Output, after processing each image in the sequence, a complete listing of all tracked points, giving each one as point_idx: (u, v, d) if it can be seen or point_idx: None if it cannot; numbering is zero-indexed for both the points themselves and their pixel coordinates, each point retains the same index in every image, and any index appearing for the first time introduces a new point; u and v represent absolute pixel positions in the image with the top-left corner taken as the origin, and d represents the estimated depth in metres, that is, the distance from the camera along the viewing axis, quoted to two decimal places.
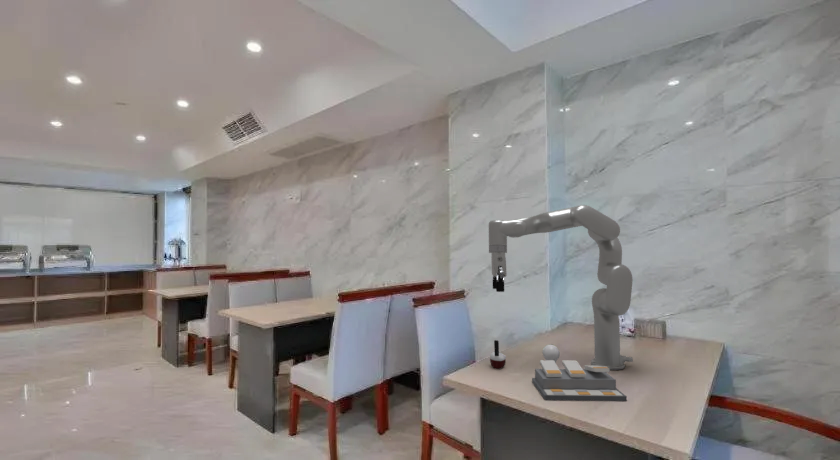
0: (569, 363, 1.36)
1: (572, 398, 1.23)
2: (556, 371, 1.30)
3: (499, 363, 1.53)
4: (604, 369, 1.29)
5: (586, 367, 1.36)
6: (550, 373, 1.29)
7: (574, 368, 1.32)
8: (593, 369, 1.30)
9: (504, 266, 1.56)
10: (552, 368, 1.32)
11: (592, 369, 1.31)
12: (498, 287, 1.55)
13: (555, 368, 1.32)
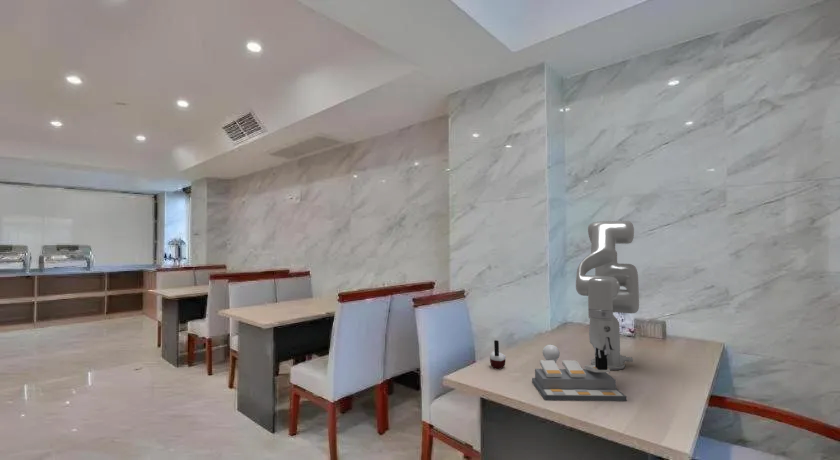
0: (569, 363, 1.36)
1: (572, 398, 1.23)
2: (556, 371, 1.30)
3: (499, 363, 1.53)
4: None
5: (586, 367, 1.36)
6: (550, 373, 1.29)
7: (574, 368, 1.32)
8: (593, 369, 1.30)
9: (613, 338, 1.25)
10: (552, 368, 1.32)
11: (592, 369, 1.31)
12: (600, 364, 1.28)
13: (555, 368, 1.32)
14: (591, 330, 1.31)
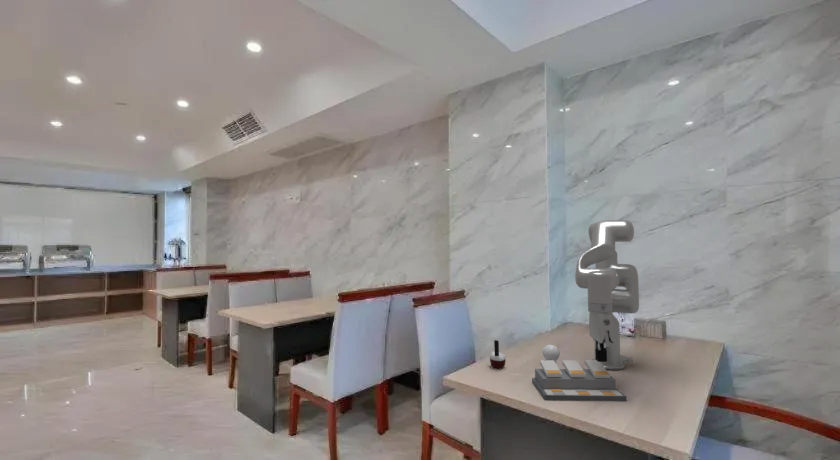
0: (569, 363, 1.36)
1: (572, 398, 1.23)
2: (556, 371, 1.30)
3: (499, 363, 1.53)
4: (605, 376, 1.28)
5: (586, 364, 1.35)
6: (550, 373, 1.29)
7: (574, 368, 1.32)
8: (593, 374, 1.29)
9: (612, 331, 1.25)
10: (552, 368, 1.32)
11: (592, 373, 1.30)
12: (600, 356, 1.29)
13: (555, 368, 1.32)
14: (591, 323, 1.32)
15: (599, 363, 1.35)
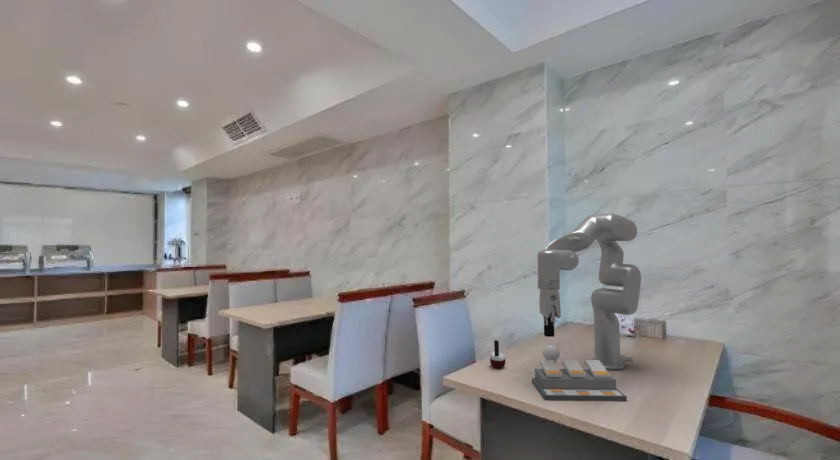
0: (569, 363, 1.36)
1: (572, 398, 1.23)
2: (556, 371, 1.30)
3: (499, 363, 1.53)
4: (605, 376, 1.28)
5: (586, 364, 1.35)
6: (550, 373, 1.29)
7: (574, 368, 1.32)
8: (593, 374, 1.29)
9: (558, 306, 1.32)
10: (552, 368, 1.32)
11: (592, 373, 1.30)
12: (547, 331, 1.36)
13: (555, 368, 1.32)
14: (540, 300, 1.39)
15: (599, 363, 1.35)
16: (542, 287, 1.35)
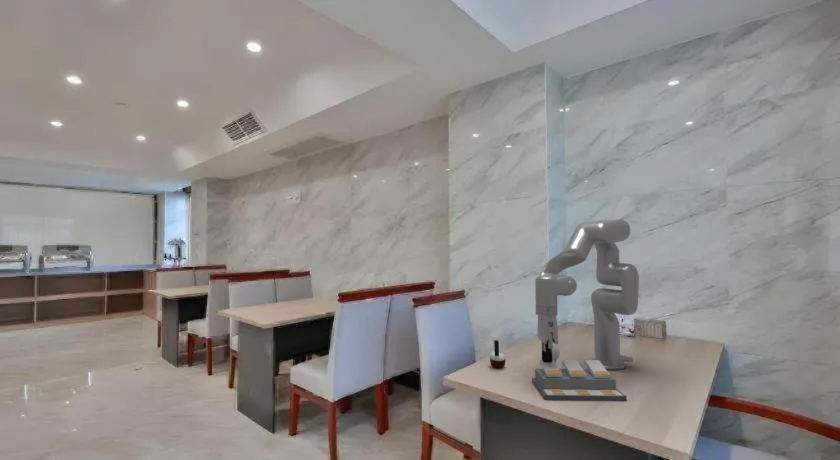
0: (569, 363, 1.36)
1: (572, 398, 1.23)
2: (556, 371, 1.30)
3: (499, 362, 1.53)
4: (605, 376, 1.28)
5: (586, 364, 1.35)
6: (550, 373, 1.29)
7: (574, 368, 1.32)
8: (593, 374, 1.29)
9: (556, 332, 1.33)
10: (552, 368, 1.32)
11: (592, 373, 1.30)
12: (545, 357, 1.36)
13: (555, 368, 1.32)
14: (538, 325, 1.39)
15: (599, 363, 1.35)
16: (540, 313, 1.36)
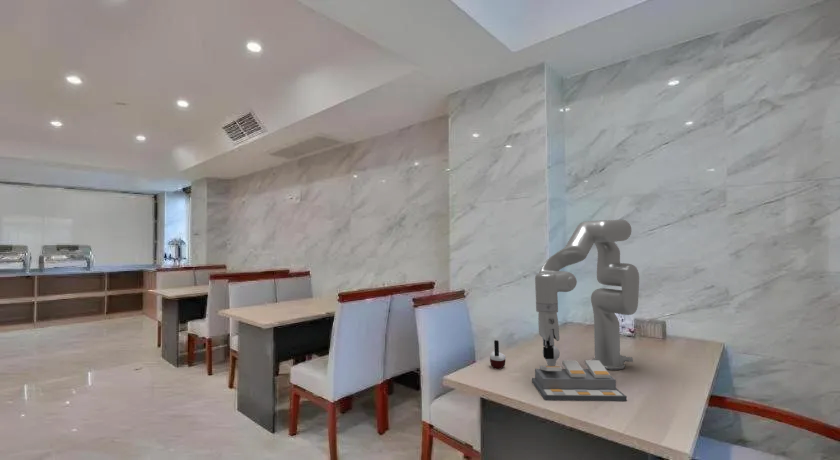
0: (569, 363, 1.36)
1: (572, 398, 1.23)
2: (555, 366, 1.31)
3: (499, 362, 1.53)
4: (605, 376, 1.28)
5: (586, 364, 1.35)
6: (549, 367, 1.30)
7: (574, 368, 1.32)
8: (593, 374, 1.29)
9: (557, 329, 1.33)
10: None
11: (592, 373, 1.30)
12: (547, 354, 1.37)
13: None
14: (539, 322, 1.40)
15: (599, 363, 1.35)
16: (540, 310, 1.36)
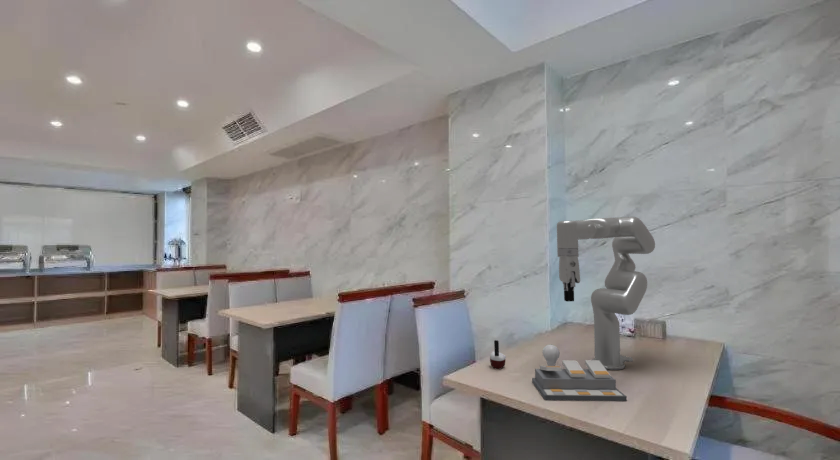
0: (569, 363, 1.36)
1: (572, 398, 1.23)
2: (555, 366, 1.31)
3: (499, 363, 1.53)
4: (605, 375, 1.28)
5: (586, 364, 1.35)
6: (549, 367, 1.30)
7: (574, 368, 1.32)
8: (593, 374, 1.29)
9: (578, 272, 1.41)
10: None
11: (592, 373, 1.30)
12: (568, 296, 1.45)
13: None
14: (560, 268, 1.48)
15: (599, 363, 1.35)
16: (562, 255, 1.44)
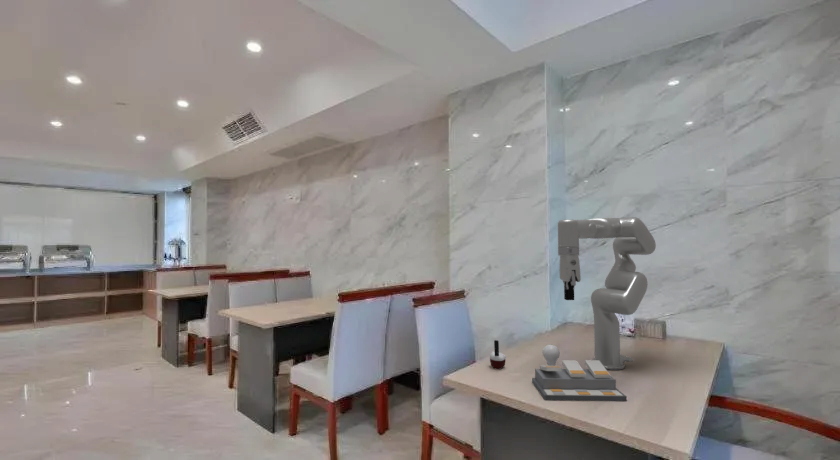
0: (569, 363, 1.36)
1: (572, 398, 1.23)
2: (555, 366, 1.31)
3: (499, 362, 1.53)
4: (605, 375, 1.28)
5: (586, 364, 1.35)
6: (549, 367, 1.30)
7: (574, 368, 1.32)
8: (593, 374, 1.29)
9: (578, 270, 1.41)
10: None
11: (592, 373, 1.30)
12: (568, 295, 1.45)
13: None
14: (560, 266, 1.48)
15: (599, 363, 1.35)
16: (562, 253, 1.44)
